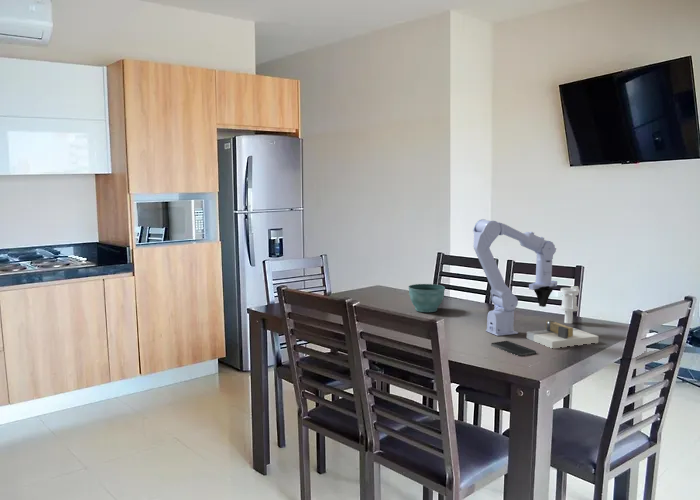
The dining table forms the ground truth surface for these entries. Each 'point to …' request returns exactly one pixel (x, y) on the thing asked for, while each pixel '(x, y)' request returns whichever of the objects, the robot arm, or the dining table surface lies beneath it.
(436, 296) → the flower pot
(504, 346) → the phone
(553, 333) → the white panel
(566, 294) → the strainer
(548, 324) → the bar
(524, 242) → the robot arm
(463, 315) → the dining table surface
